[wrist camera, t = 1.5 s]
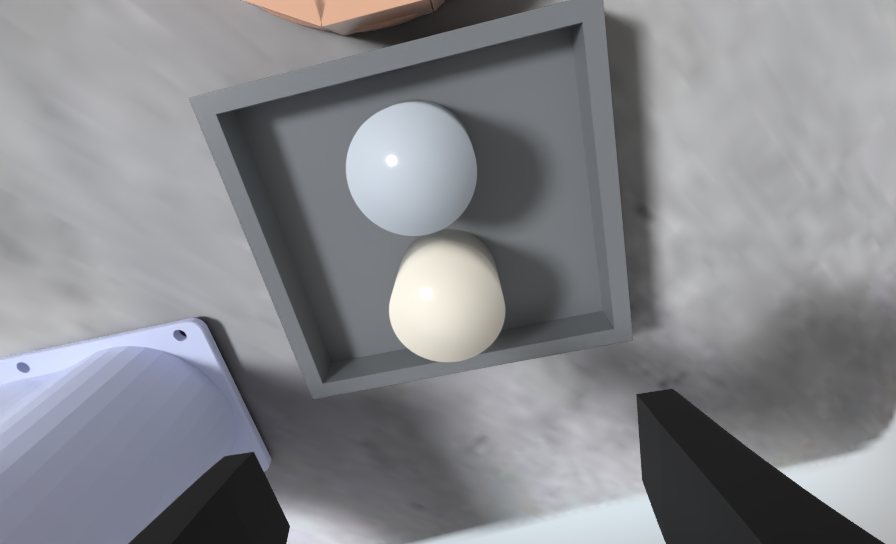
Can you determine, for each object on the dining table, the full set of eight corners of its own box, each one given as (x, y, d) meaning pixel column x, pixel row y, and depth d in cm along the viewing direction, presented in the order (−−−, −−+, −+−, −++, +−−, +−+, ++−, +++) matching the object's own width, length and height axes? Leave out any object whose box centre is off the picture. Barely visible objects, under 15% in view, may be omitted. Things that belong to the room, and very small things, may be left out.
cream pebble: (413, 326, 18) (405, 371, 15) (387, 240, 17) (374, 272, 14) (504, 308, 18) (514, 351, 15) (486, 218, 16) (493, 247, 14)
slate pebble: (381, 219, 16) (367, 247, 14) (351, 113, 15) (328, 121, 12) (482, 196, 16) (488, 221, 13) (460, 87, 15) (462, 89, 12)
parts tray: (327, 366, 20) (312, 399, 18) (222, 95, 16) (188, 98, 14) (613, 311, 19) (632, 340, 17) (581, 3, 14) (602, -9, 12)
